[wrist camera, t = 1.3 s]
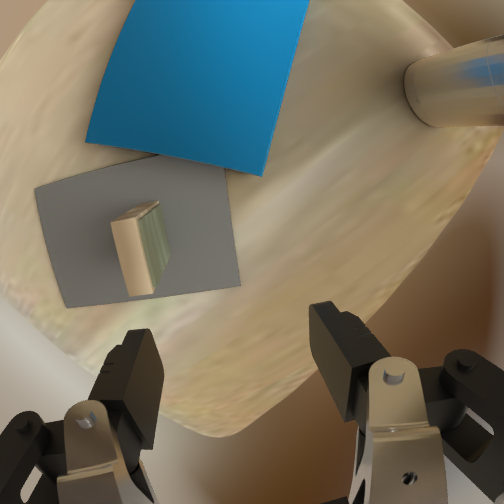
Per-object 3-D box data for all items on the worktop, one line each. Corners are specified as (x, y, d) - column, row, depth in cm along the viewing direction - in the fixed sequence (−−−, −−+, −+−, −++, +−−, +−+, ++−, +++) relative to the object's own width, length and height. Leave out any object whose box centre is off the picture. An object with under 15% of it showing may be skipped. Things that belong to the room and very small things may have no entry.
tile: (161, 200, 28) (138, 216, 20) (172, 256, 30) (156, 293, 22) (140, 203, 28) (110, 222, 20) (151, 259, 30) (129, 296, 21)
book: (84, 144, 22) (165, -58, 16) (101, 146, 26) (170, -38, 20) (268, 178, 25) (321, -31, 19) (261, 176, 29) (310, -13, 23)
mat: (221, 145, 28) (221, 145, 27) (240, 283, 33) (240, 285, 32) (37, 188, 26) (34, 188, 26) (68, 306, 31) (66, 308, 30)
